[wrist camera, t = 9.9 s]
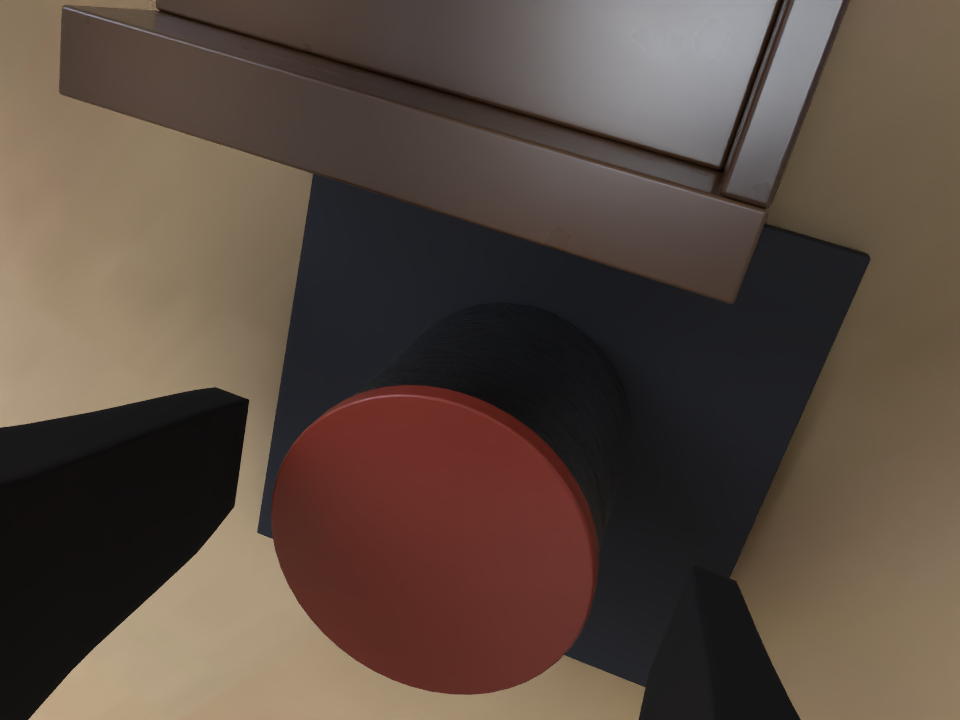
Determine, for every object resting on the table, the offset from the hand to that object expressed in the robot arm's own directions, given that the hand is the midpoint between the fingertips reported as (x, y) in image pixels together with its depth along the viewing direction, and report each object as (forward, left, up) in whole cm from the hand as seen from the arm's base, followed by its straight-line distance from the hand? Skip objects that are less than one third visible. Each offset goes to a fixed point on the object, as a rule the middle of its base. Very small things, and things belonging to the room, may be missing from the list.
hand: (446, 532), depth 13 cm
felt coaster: (0, 0, -5) cm, 5 cm away
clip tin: (0, 0, -4) cm, 4 cm away
